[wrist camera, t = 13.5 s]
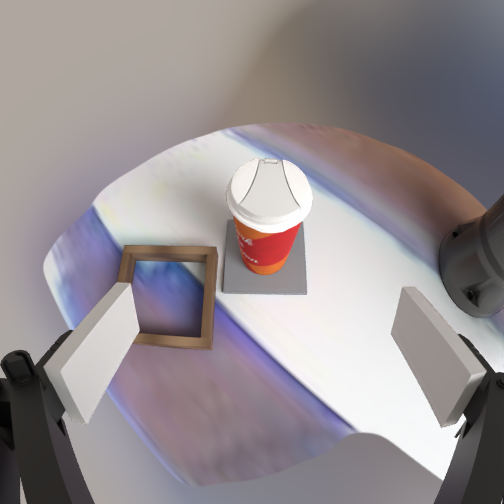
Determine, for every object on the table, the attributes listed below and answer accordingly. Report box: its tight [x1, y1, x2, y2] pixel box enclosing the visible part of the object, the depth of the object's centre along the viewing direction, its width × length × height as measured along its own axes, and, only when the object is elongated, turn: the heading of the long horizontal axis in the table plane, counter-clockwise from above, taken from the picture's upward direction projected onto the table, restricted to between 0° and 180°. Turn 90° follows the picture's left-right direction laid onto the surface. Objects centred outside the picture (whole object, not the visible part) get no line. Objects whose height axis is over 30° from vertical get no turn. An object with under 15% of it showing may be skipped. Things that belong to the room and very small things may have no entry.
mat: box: [223, 220, 307, 295], centre depth 39 cm, size 10×10×1 cm
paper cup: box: [226, 158, 312, 275], centre depth 32 cm, size 8×8×14 cm
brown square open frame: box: [117, 245, 218, 350], centre depth 35 cm, size 12×12×2 cm
